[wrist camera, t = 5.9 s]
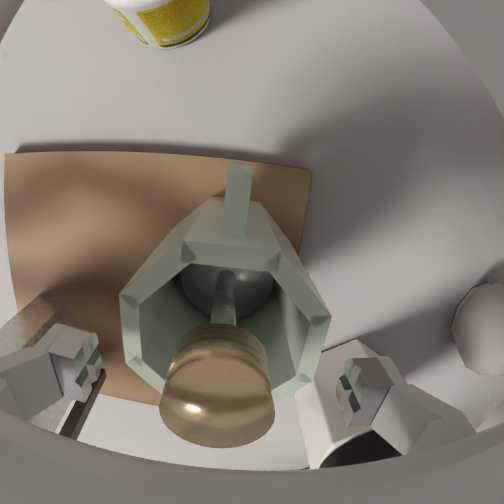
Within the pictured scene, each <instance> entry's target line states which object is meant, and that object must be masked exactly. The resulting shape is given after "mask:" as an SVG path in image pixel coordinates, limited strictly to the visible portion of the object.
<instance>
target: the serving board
mask: <svg viewBox="0 0 504 504" xmlns="http://www.w3.org/2000/svg"><path fill="white" fill-rule="evenodd" d="M232 162H240V163H248V164H249V165H250V166H252V167H253V168H254V169H253V177H252V184H251V192H250V201H258V202H260V203H261V204H262V205H263V207H264V208H265V209H266V211H267V212H268V213H269V215H270V216H271V217H272V218H273V220H274V221H275V222H276V224H277V225H278V226H279V228H280V229H281V230H282V231H283V233H284V234H285V235H286V237H287V238H288V239H289V241H290V243H291V245H292V246H293V248H294V250H295V252H296V253H297V255H299V250H300V244H301V239H302V233H303V227H304V221H305V215H306V209H307V203H308V197H309V190H310V184H311V178H312V170H307V169H301V168H295V167H288V166H281V165H275V164H267V163H260V162H252V161H244V160H235V159H226V158H217V157H206V156H195V155H182V154H168V153H150V152H126V151H51V152H28V153H13V154H5V170H4V202H5V223H6V236H7V246H8V255H9V263H10V270H11V276H12V282H13V288H14V293H15V298H16V303H17V308H18V312H19V311H21V310H22V309H23V308H24V307H25V306H26V305H27V304H29V303H30V302H31V301H32V300H33V299H34V298H36V297H37V296H42V297H47V298H51V299H56V300H60V301H65V302H67V303H68V305H69V306H70V307H71V308H72V309H73V310H74V311H75V312H76V313H77V315H78V316H79V317H80V318H81V319H82V320H83V321H84V322H85V323H86V324H87V325H88V326H89V327H90V328H91V331H92V332H95V333H96V334H97V337H98V342H99V344H98V345H97V347H96V349H97V350H98V352H99V353H100V354H101V360H102V367H101V368H103V369H105V371H106V376H107V377H106V379H105V381H104V383H103V385H102V387H101V389H100V391H99V393H100V394H104V395H108V396H112V397H116V398H121V399H125V400H130V401H135V402H140V403H145V404H151V405H156V406H159V404H160V400H161V396H162V394H161V393H159V392H158V391H157V390H156V389H155V388H153V387H152V386H151V385H150V384H149V383H147V382H146V381H145V380H144V379H143V378H142V377H140V376H139V375H138V374H137V373H136V372H135V371H134V370H133V369H131V368H130V367H129V366H128V365H127V364H126V363H125V355H124V346H123V337H122V327H121V315H120V301H119V294H120V292H121V291H122V290H123V288H124V287H125V286H126V285H127V283H128V282H129V281H130V280H131V278H132V277H133V276H134V275H135V273H136V272H137V271H138V270H139V268H140V267H141V266H142V265H143V264H144V262H145V261H146V260H147V259H148V257H149V256H150V255H151V254H152V253H153V251H154V250H155V249H156V248H157V247H158V245H159V244H160V243H161V242H162V241H163V240H164V238H165V237H166V236H167V235H168V234H169V233H170V231H171V230H172V229H173V228H174V227H175V226H176V225H177V224H178V223H179V222H181V221H182V220H183V219H184V218H185V217H187V216H188V215H189V214H190V213H191V212H193V211H194V210H195V209H196V208H197V207H199V206H200V205H201V204H202V203H204V202H205V201H206V200H207V199H209V198H210V197H211V196H214V197H224V198H225V191H226V182H227V174H228V166H229V164H231V163H232Z"/></svg>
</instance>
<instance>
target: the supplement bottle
mask: <svg viewBox="0 0 504 504" xmlns="http://www.w3.org/2000/svg"><path fill="white" fill-rule="evenodd" d="M104 1H105V2H106V4H107V5H108V6H109V7H110V8H111V9H112V10H113V11H114V12H115V13H116V14H117V15H118V16H119V17H120V18H121V19H122V21H123V22H124V23H125V24H126V25H127V26H128V27H129V28H130V29H131V31H132V32H133V33H134V34H135V35H136V36H137V37H138V38H139V39H140V40H141V41H142V42H143V43H145V44H146V45H148V46H150V47H153V48H157V49H172V48H177V47H181V46H183V45H186V44H188V43H190V42H191V41H193V40H194V39H196V38H197V37H198V36H199V35H200V34H201V33H202V32H203V31H204V30H205V28H206V27H207V25H208V23H209V20H210V16H211V5H210V0H104Z"/></svg>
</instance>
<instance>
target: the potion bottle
mask: <svg viewBox="0 0 504 504" xmlns="http://www.w3.org/2000/svg"><path fill="white" fill-rule="evenodd" d="M450 328H451V331H452V333H453V339H454V341H455V344H456V346H457V349H458V352H459V354H460V356H461V358H462V360H463V362H464V365H465V367H466V368H468V369H470V370H472V371H474V372H475V373H477V374H479V375H486V376H499V375H504V284H503V283H498V282H497V283H494V284H491V285H490V284H489V283H488V282H487V283H484V284H481V285H479V286H476V287H473V288H471V290H470V291H469V292H468V293H467V295H466V296H465V297H464V298H463V300H462V301H461V302H460V303H459V304H458V306H457V308H456V311H455V315H454V318H453V321H452V324H451V327H450Z"/></svg>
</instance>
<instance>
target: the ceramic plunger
mask: <svg viewBox="0 0 504 504" xmlns="http://www.w3.org/2000/svg"><path fill="white" fill-rule="evenodd" d="M181 280H182V285H183V289H184V291H185V293H186V295H187V297H188V298H189V300H190V301H191V302H192V304H193V305H194V306H196V307H197V308H198V309H199V310H201V311H202V312H204V313H206V314H208V315H210V316H211V321H210V324H204V325H201V326H198V327H195V328H193V329H191V330H190V331H188V332H187V333H185V334H184V335H183V336H182V337H181V338H180V340H179V341H178V343H177V345H176V347H175V350H174V353H173V357H172V360H171V364H170V367H169V371H168V374H167V378H166V382H165V385H164V389H163V392H162V396H161V400H160V404H159V411H160V415H161V418H162V420H163V421H164V423H165V424H166V426H167V427H168V428H169V429H170V430H171V431H172V432H173V433H175V434H176V435H177V436H179V437H181V438H182V439H184V440H186V441H189V442H191V443H194V444H197V445H201V446H205V447H212V448H232V447H238V446H242V445H246V444H249V443H251V442H253V441H255V440H257V439H259V438H261V437H262V436H263V435H264V434H266V433H267V432H268V430H269V429H270V428H271V426H272V424H273V422H274V418H275V410H274V403H273V396H272V388H271V381H270V374H269V367H268V360H267V354H266V351H265V348H264V346H263V345H262V343H261V342H260V341H259V339H258V338H257V337H255V336H254V335H253V334H252V333H250V332H249V331H247V330H245V329H243V328H241V327H238V326H236V318H239V317H242V316H245V315H248V314H250V313H252V312H253V311H255V310H256V309H257V308H259V307H260V306H261V305H262V304H263V303H264V301H265V300H266V299H267V297H268V295H269V293H270V291H271V288H272V284H273V276H272V275H271V274H270V273H269V272H267V271H257V270H248V269H238V268H229V267H220V266H211V265H202V264H193V263H190V264H189V265H188V266H186V267H185V268H184V269H182V272H181Z"/></svg>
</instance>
